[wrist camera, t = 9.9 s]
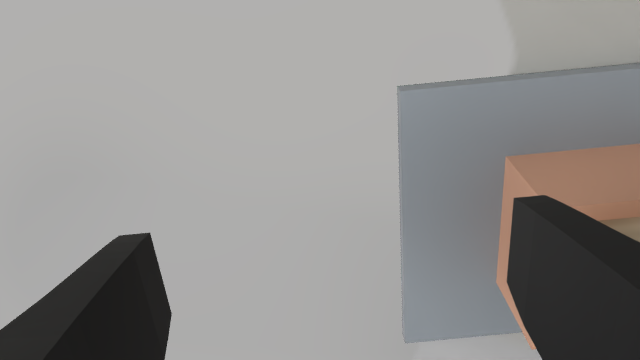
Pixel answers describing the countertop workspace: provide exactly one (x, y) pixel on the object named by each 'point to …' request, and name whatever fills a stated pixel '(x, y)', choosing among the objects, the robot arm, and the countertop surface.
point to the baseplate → (486, 180)
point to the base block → (570, 191)
